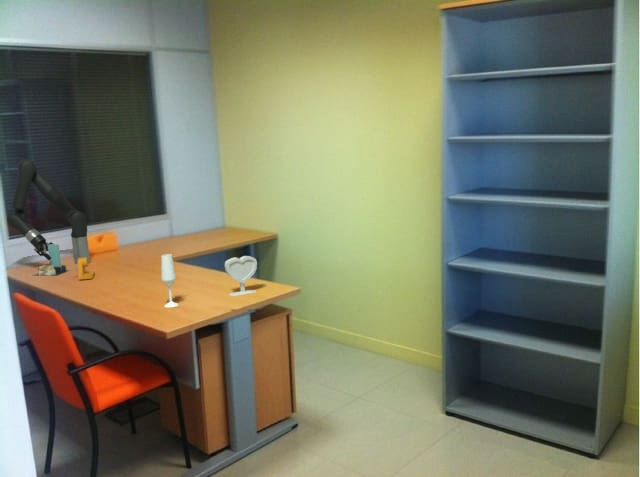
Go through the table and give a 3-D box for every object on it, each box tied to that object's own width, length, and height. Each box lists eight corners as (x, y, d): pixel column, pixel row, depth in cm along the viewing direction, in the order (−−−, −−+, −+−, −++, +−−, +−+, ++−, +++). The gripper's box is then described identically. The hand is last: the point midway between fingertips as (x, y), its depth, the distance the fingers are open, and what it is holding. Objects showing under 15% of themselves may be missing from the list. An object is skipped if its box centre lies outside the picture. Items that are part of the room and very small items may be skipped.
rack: (32, 277, 356) (31, 270, 355) (47, 271, 369) (46, 265, 368) (56, 278, 352) (55, 271, 351) (70, 272, 365) (70, 265, 364)
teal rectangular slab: (51, 271, 364) (47, 245, 361) (53, 270, 366) (49, 244, 363) (59, 271, 363) (56, 245, 360) (61, 270, 365) (58, 244, 362)
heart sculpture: (229, 296, 298) (226, 260, 294) (226, 294, 302) (223, 258, 299) (259, 291, 304) (257, 256, 301) (255, 289, 309) (253, 254, 305)
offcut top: (39, 271, 355) (39, 266, 355) (43, 269, 359) (42, 265, 358) (50, 271, 354) (50, 266, 354) (54, 269, 358) (53, 265, 357)
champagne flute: (161, 307, 286) (156, 256, 281) (169, 302, 292) (164, 253, 287) (173, 307, 283) (168, 257, 279) (181, 303, 289) (177, 253, 285)
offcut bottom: (39, 275, 356) (38, 271, 356) (43, 273, 360) (43, 269, 359) (51, 275, 354) (50, 271, 354) (55, 273, 358) (55, 269, 357)
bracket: (92, 279, 344) (90, 258, 342) (79, 281, 343) (76, 260, 341) (95, 275, 355) (92, 255, 353) (82, 276, 353) (79, 256, 351)
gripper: (30, 236, 356) (50, 256, 355) (46, 231, 369) (65, 250, 369) (23, 245, 358) (43, 264, 357) (40, 240, 372) (59, 259, 371)
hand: (54, 257), depth 363 cm, fingers open, 7 cm apart
